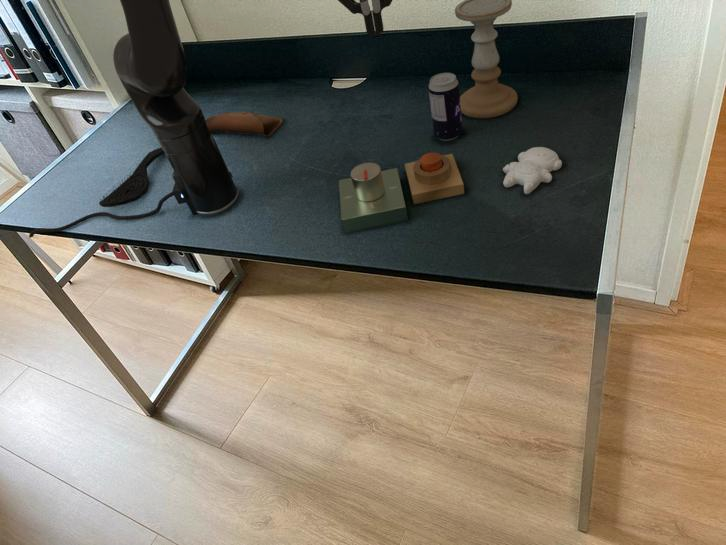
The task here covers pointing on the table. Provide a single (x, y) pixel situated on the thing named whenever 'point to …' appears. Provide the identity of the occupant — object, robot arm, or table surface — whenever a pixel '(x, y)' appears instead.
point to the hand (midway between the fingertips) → (375, 35)
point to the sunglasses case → (244, 123)
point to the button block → (434, 180)
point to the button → (431, 162)
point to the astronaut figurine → (532, 168)
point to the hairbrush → (132, 183)
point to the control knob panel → (372, 204)
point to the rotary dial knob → (367, 182)
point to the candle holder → (485, 61)
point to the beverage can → (445, 106)
